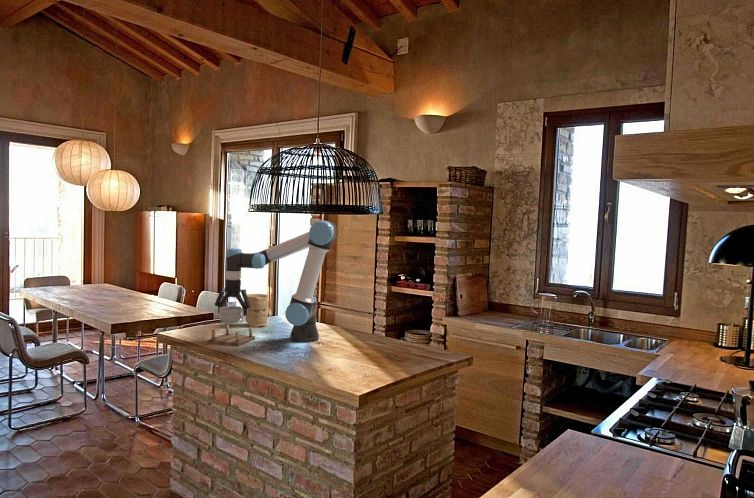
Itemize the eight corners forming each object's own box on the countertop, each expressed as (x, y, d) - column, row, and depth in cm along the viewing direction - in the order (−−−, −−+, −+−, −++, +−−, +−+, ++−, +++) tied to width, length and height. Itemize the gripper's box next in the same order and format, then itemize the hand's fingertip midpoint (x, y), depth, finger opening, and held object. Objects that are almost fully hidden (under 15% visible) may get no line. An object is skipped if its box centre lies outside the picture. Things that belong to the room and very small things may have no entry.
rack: (255, 339, 289) (255, 326, 289) (238, 346, 273) (238, 333, 272) (226, 336, 294) (226, 324, 293) (208, 343, 277) (208, 330, 277)
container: (271, 325, 327) (272, 295, 326) (256, 328, 316) (256, 297, 315) (255, 322, 333) (256, 293, 332) (240, 325, 323) (241, 295, 322)
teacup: (218, 324, 276) (218, 308, 276) (221, 320, 287) (221, 305, 286) (246, 324, 278) (246, 308, 277) (248, 320, 289) (249, 305, 288)
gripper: (258, 279, 282) (257, 321, 283) (216, 276, 288) (215, 317, 289) (251, 281, 275) (250, 324, 276) (208, 278, 281) (207, 320, 282)
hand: (232, 320), depth 283 cm, fingers closed on teacup, 12 cm apart
